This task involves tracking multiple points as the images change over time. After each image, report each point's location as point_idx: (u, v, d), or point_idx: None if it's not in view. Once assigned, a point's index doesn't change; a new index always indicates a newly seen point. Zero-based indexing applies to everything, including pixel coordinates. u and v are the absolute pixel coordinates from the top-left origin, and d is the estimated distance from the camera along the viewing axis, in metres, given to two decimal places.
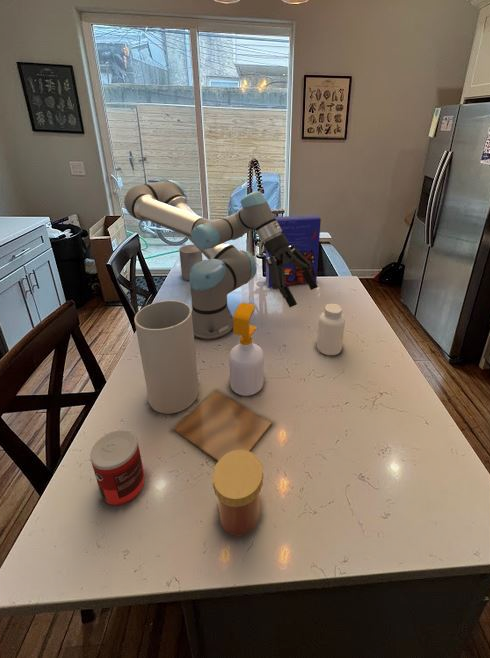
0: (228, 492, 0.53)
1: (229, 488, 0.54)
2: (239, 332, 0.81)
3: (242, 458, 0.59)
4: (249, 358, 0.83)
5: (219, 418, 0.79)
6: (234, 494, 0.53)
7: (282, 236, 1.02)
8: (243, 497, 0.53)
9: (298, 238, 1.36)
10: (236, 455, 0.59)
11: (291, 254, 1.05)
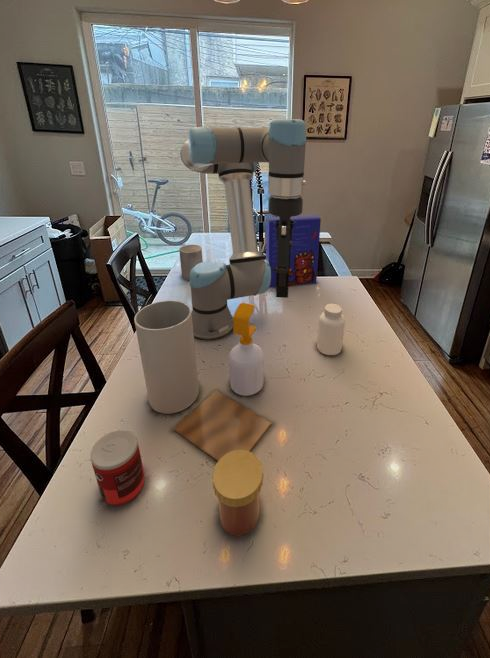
0: (228, 492, 0.53)
1: (229, 488, 0.54)
2: (239, 332, 0.81)
3: (242, 458, 0.59)
4: (249, 358, 0.83)
5: (219, 418, 0.79)
6: (234, 494, 0.53)
7: (302, 201, 0.72)
8: (243, 497, 0.53)
9: (298, 238, 1.36)
10: (236, 455, 0.59)
11: None
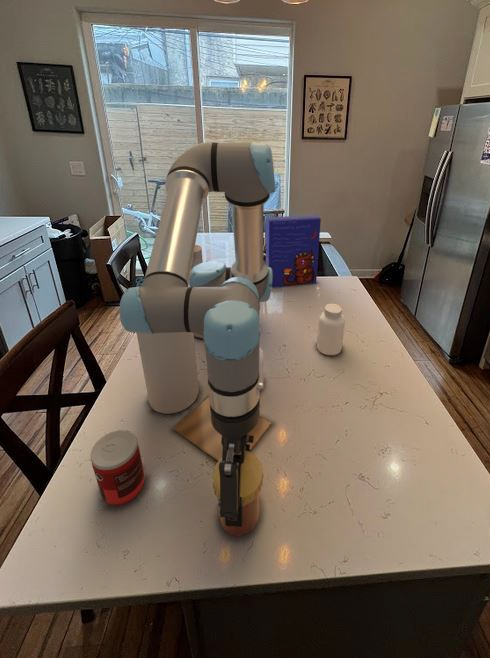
0: None
1: None
2: None
3: None
4: None
5: None
6: None
7: (259, 406, 0.50)
8: (243, 497, 0.53)
9: (298, 238, 1.36)
10: None
11: None
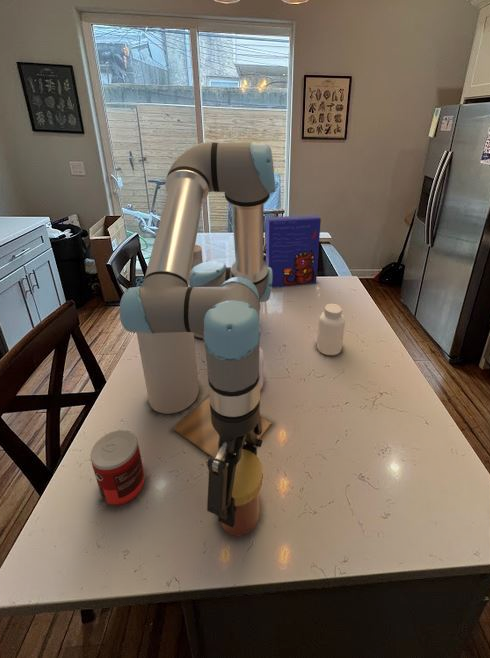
0: (250, 456, 0.59)
1: (249, 459, 0.58)
2: None
3: None
4: None
5: None
6: (246, 453, 0.59)
7: None
8: None
9: (298, 238, 1.36)
10: (233, 490, 0.53)
11: None
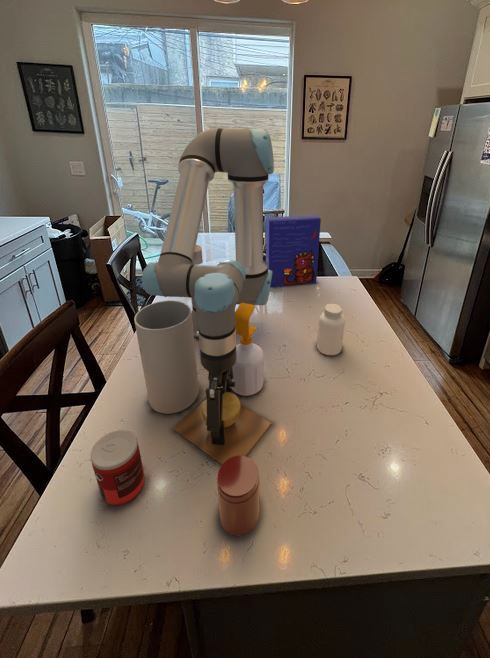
0: (228, 394, 0.78)
1: (227, 396, 0.77)
2: (239, 332, 0.81)
3: None
4: (249, 358, 0.83)
5: None
6: (224, 393, 0.78)
7: None
8: None
9: (298, 238, 1.36)
10: None
11: (209, 380, 0.70)
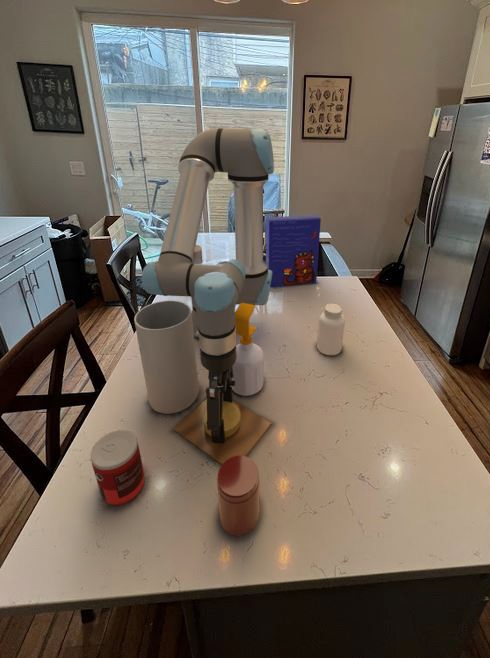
0: (229, 404, 0.79)
1: (228, 406, 0.79)
2: (239, 332, 0.81)
3: None
4: (249, 358, 0.83)
5: None
6: (225, 403, 0.79)
7: None
8: None
9: (298, 238, 1.36)
10: None
11: (209, 380, 0.70)
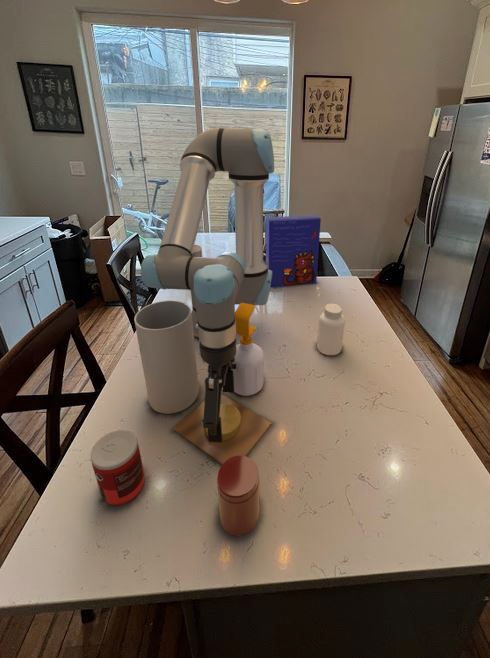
0: (229, 407, 0.80)
1: (228, 409, 0.79)
2: (239, 332, 0.81)
3: None
4: (249, 358, 0.83)
5: None
6: (225, 406, 0.80)
7: None
8: None
9: (298, 238, 1.36)
10: (222, 430, 0.74)
11: None
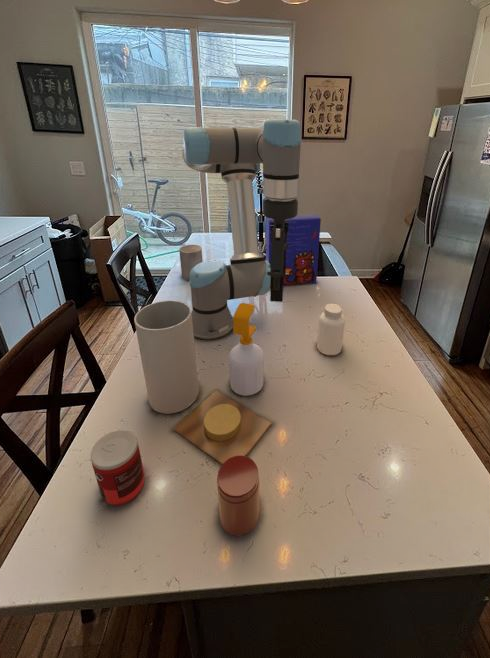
0: (229, 407, 0.80)
1: (228, 409, 0.79)
2: (239, 332, 0.81)
3: (218, 427, 0.74)
4: (249, 358, 0.83)
5: None
6: (225, 406, 0.80)
7: None
8: (219, 405, 0.80)
9: (298, 238, 1.36)
10: (222, 430, 0.74)
11: (271, 233, 0.71)
